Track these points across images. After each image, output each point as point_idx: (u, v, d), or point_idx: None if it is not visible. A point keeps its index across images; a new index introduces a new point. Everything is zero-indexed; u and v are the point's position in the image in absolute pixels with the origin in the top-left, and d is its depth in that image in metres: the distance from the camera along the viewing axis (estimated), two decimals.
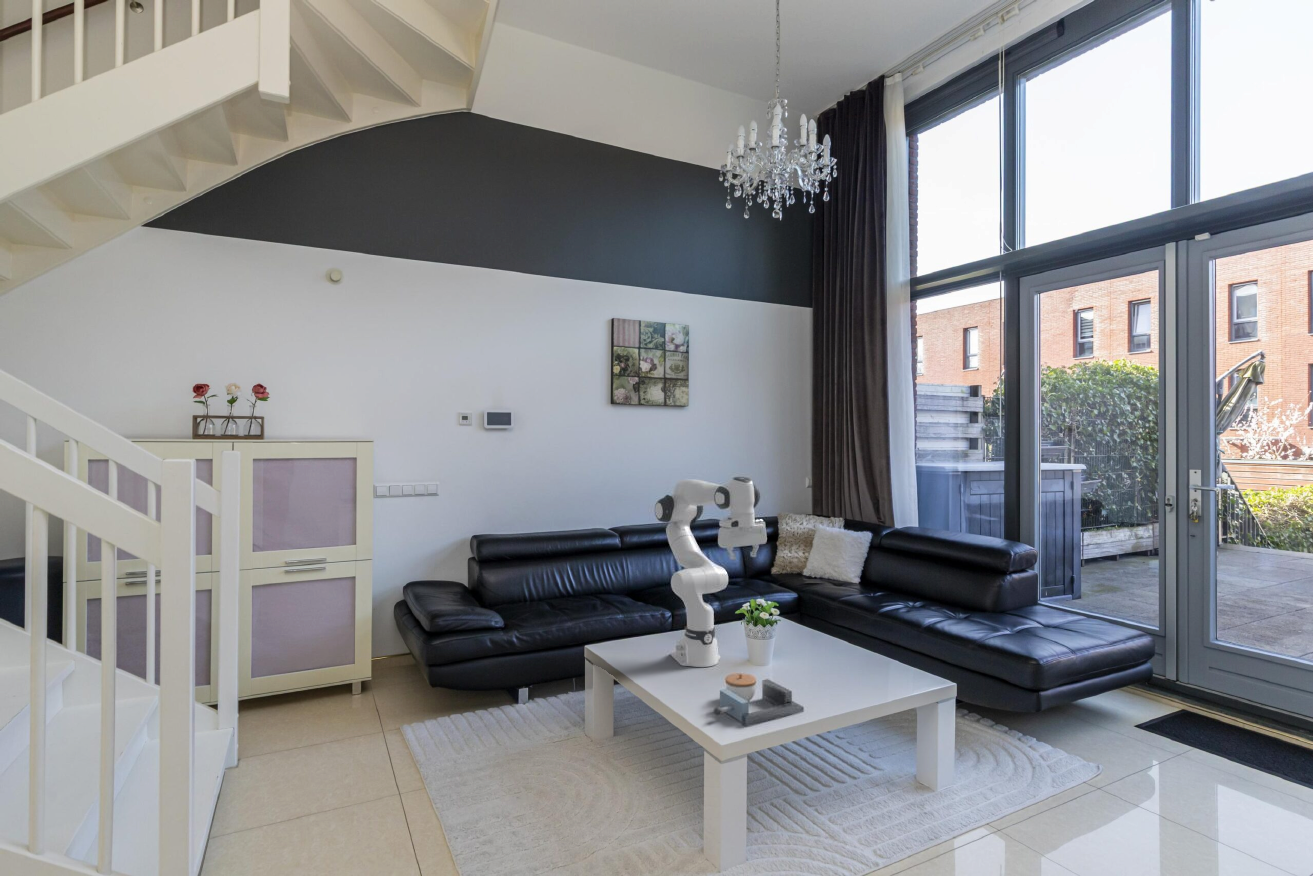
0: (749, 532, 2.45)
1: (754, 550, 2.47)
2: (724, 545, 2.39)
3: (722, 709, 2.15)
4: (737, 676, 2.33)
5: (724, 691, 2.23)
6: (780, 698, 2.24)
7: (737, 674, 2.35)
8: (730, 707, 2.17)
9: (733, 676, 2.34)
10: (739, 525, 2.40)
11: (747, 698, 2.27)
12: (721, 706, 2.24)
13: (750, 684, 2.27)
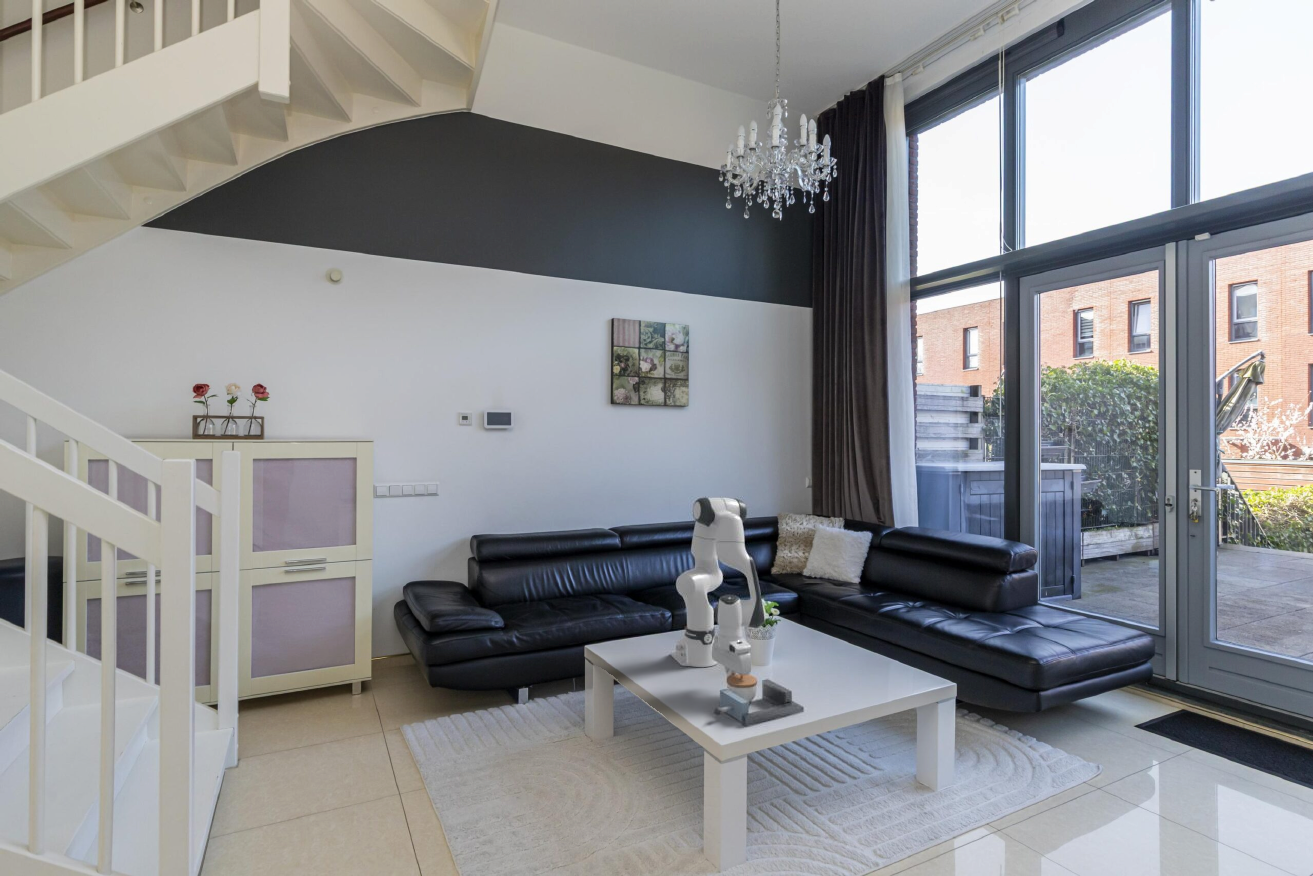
0: None
1: (729, 672, 2.38)
2: None
3: (722, 709, 2.15)
4: (738, 677, 2.33)
5: (724, 691, 2.23)
6: (780, 698, 2.24)
7: (738, 675, 2.35)
8: (730, 707, 2.17)
9: (734, 676, 2.33)
10: None
11: (748, 699, 2.27)
12: (721, 706, 2.24)
13: (751, 685, 2.27)
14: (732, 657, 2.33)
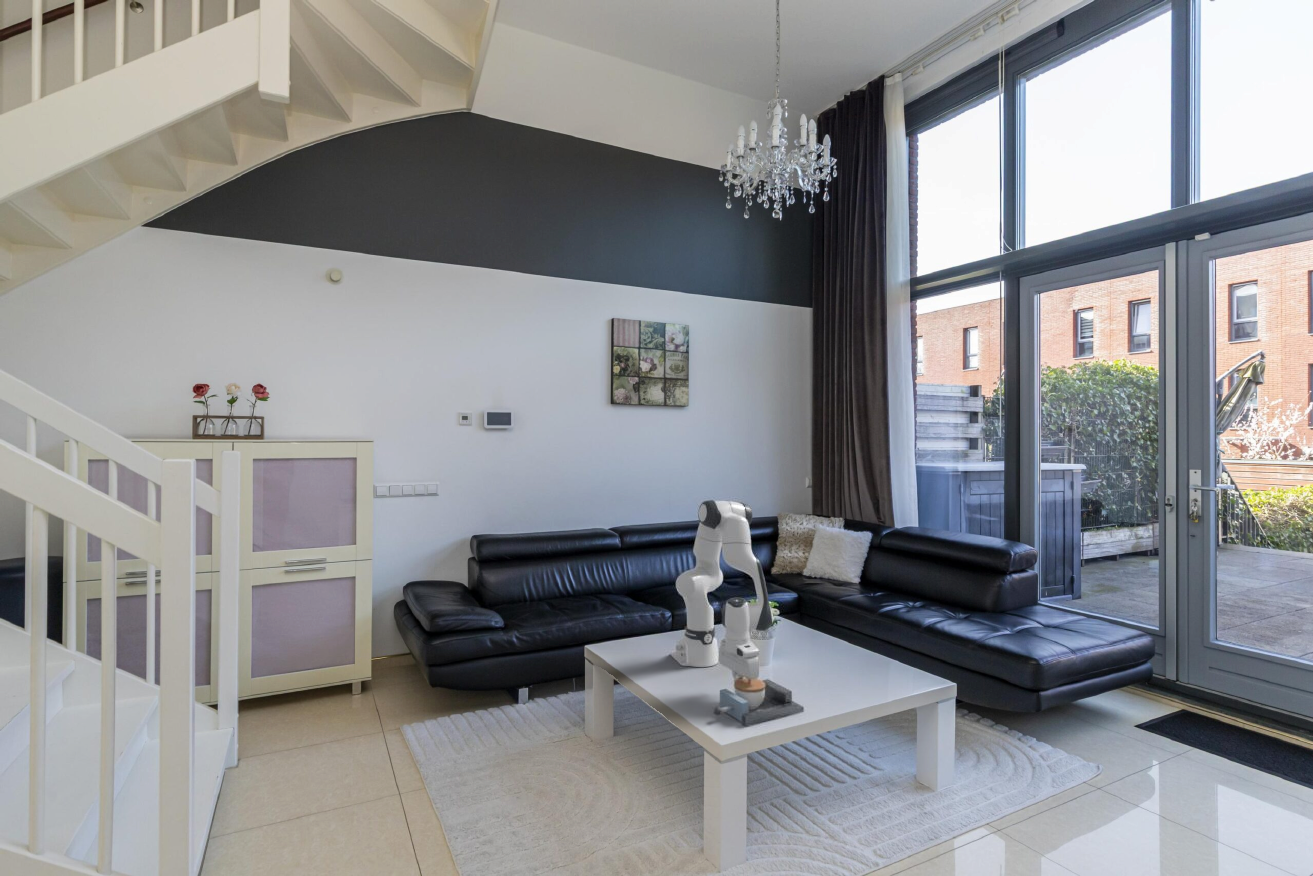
0: None
1: (737, 676, 2.34)
2: None
3: (722, 709, 2.15)
4: (746, 681, 2.29)
5: (724, 691, 2.23)
6: (780, 698, 2.24)
7: (746, 679, 2.31)
8: (730, 707, 2.17)
9: (742, 681, 2.29)
10: None
11: (756, 703, 2.23)
12: (721, 706, 2.24)
13: (759, 689, 2.22)
14: (740, 661, 2.29)
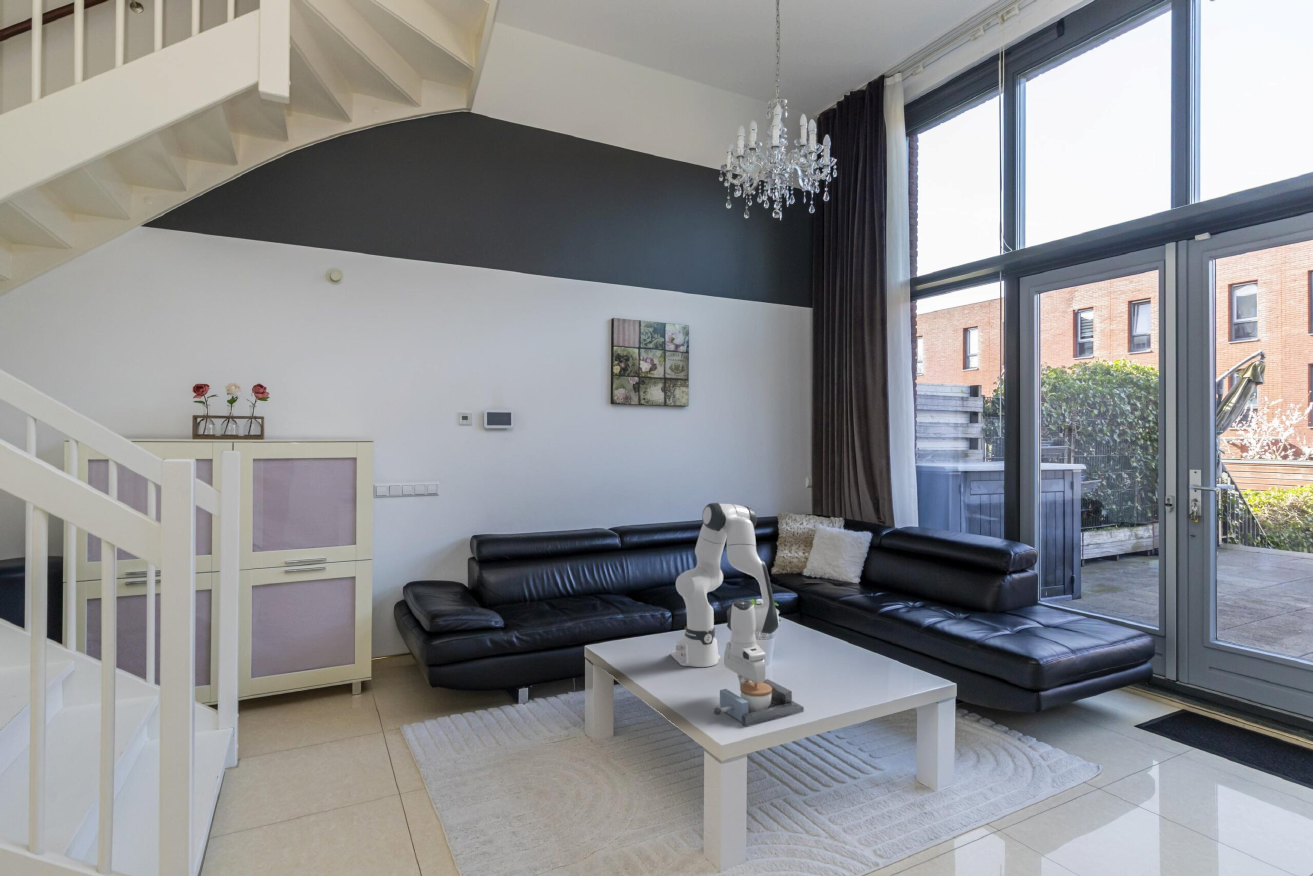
0: None
1: (742, 680, 2.31)
2: None
3: (722, 709, 2.15)
4: (752, 684, 2.25)
5: (724, 691, 2.23)
6: (780, 698, 2.24)
7: (752, 682, 2.27)
8: (730, 707, 2.17)
9: (748, 684, 2.26)
10: None
11: (763, 708, 2.19)
12: (721, 706, 2.24)
13: (766, 693, 2.19)
14: (746, 664, 2.26)
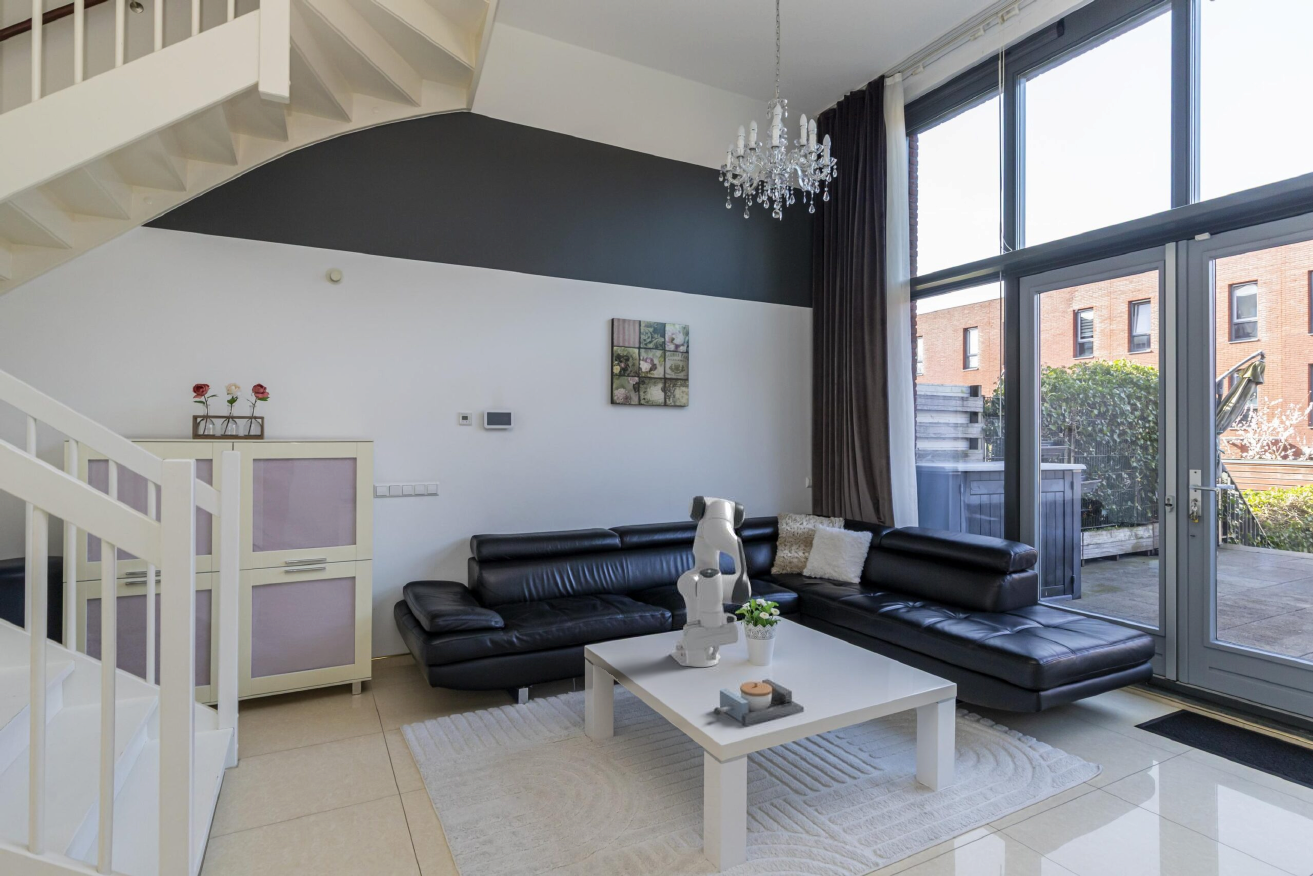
0: None
1: None
2: None
3: (722, 709, 2.15)
4: (752, 684, 2.25)
5: (724, 691, 2.23)
6: (780, 698, 2.24)
7: (752, 682, 2.27)
8: (730, 707, 2.17)
9: (748, 684, 2.26)
10: None
11: (763, 708, 2.19)
12: (721, 706, 2.24)
13: (766, 693, 2.19)
14: (721, 631, 2.20)
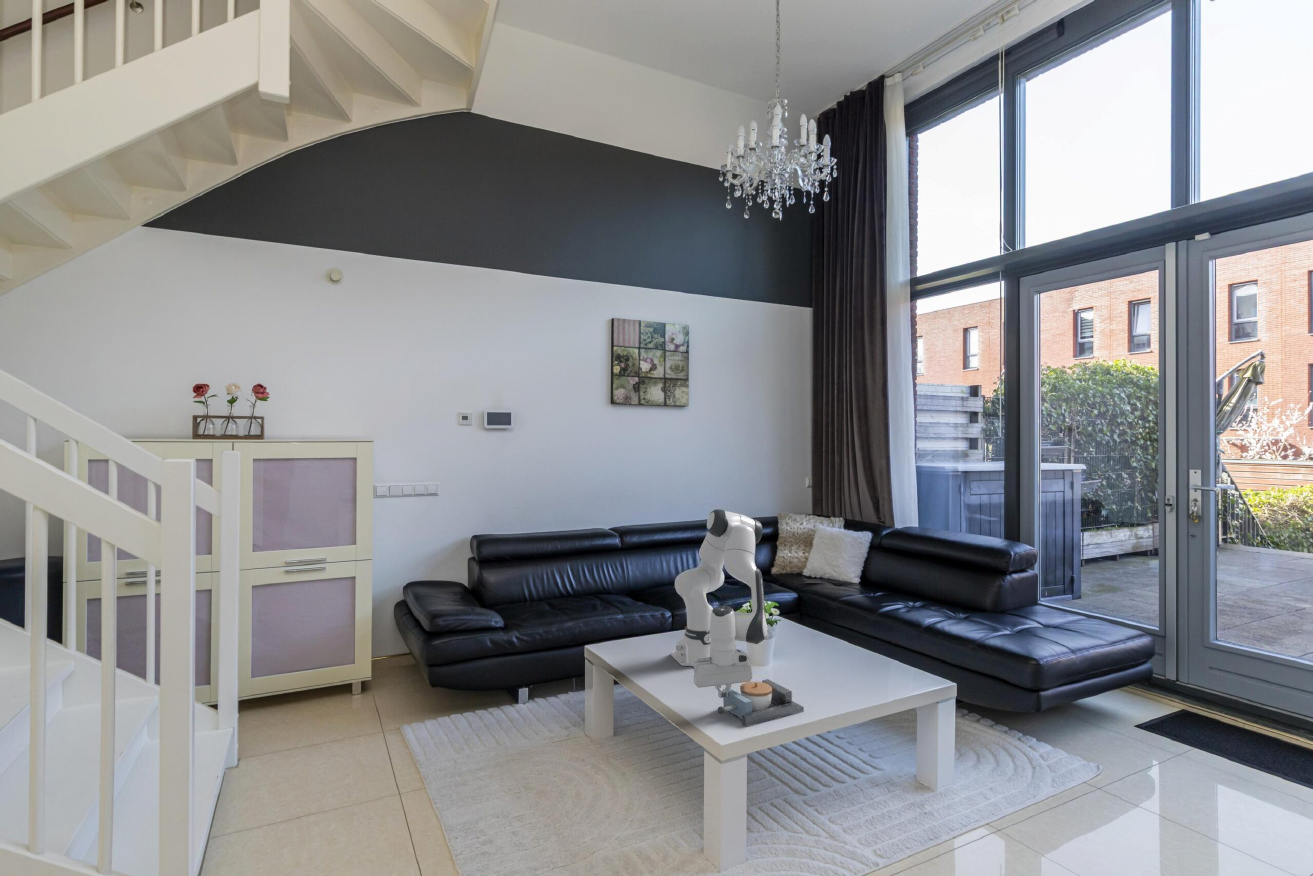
0: None
1: None
2: None
3: (726, 708, 2.16)
4: (752, 684, 2.25)
5: None
6: (780, 698, 2.24)
7: (752, 682, 2.27)
8: (733, 706, 2.18)
9: (748, 684, 2.26)
10: None
11: (763, 708, 2.19)
12: (724, 705, 2.24)
13: (766, 693, 2.19)
14: (734, 669, 2.22)
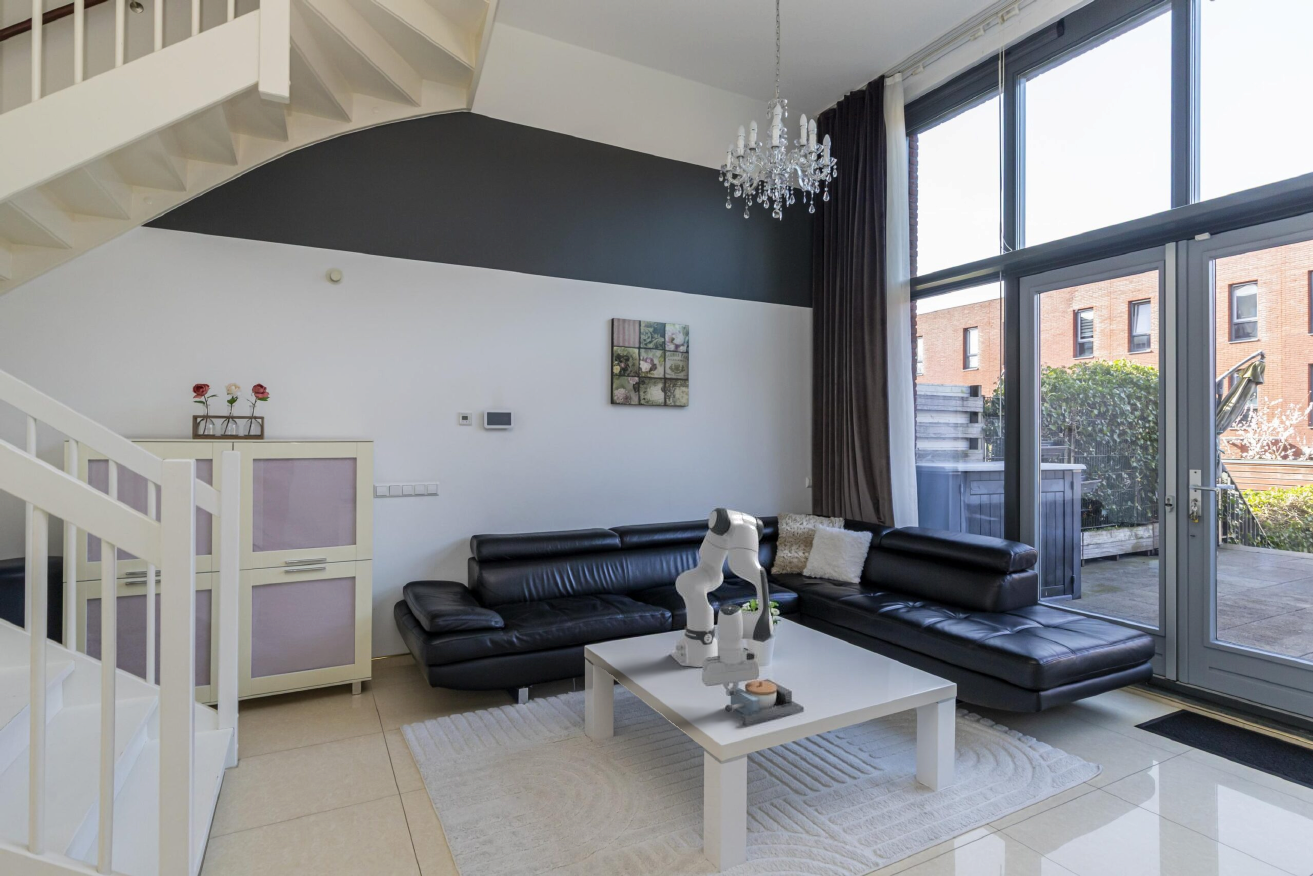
0: None
1: None
2: None
3: (733, 706, 2.17)
4: (757, 683, 2.26)
5: None
6: (780, 698, 2.24)
7: (757, 681, 2.28)
8: (741, 704, 2.19)
9: (753, 683, 2.26)
10: None
11: (767, 706, 2.20)
12: (732, 703, 2.26)
13: (770, 692, 2.20)
14: (741, 667, 2.23)
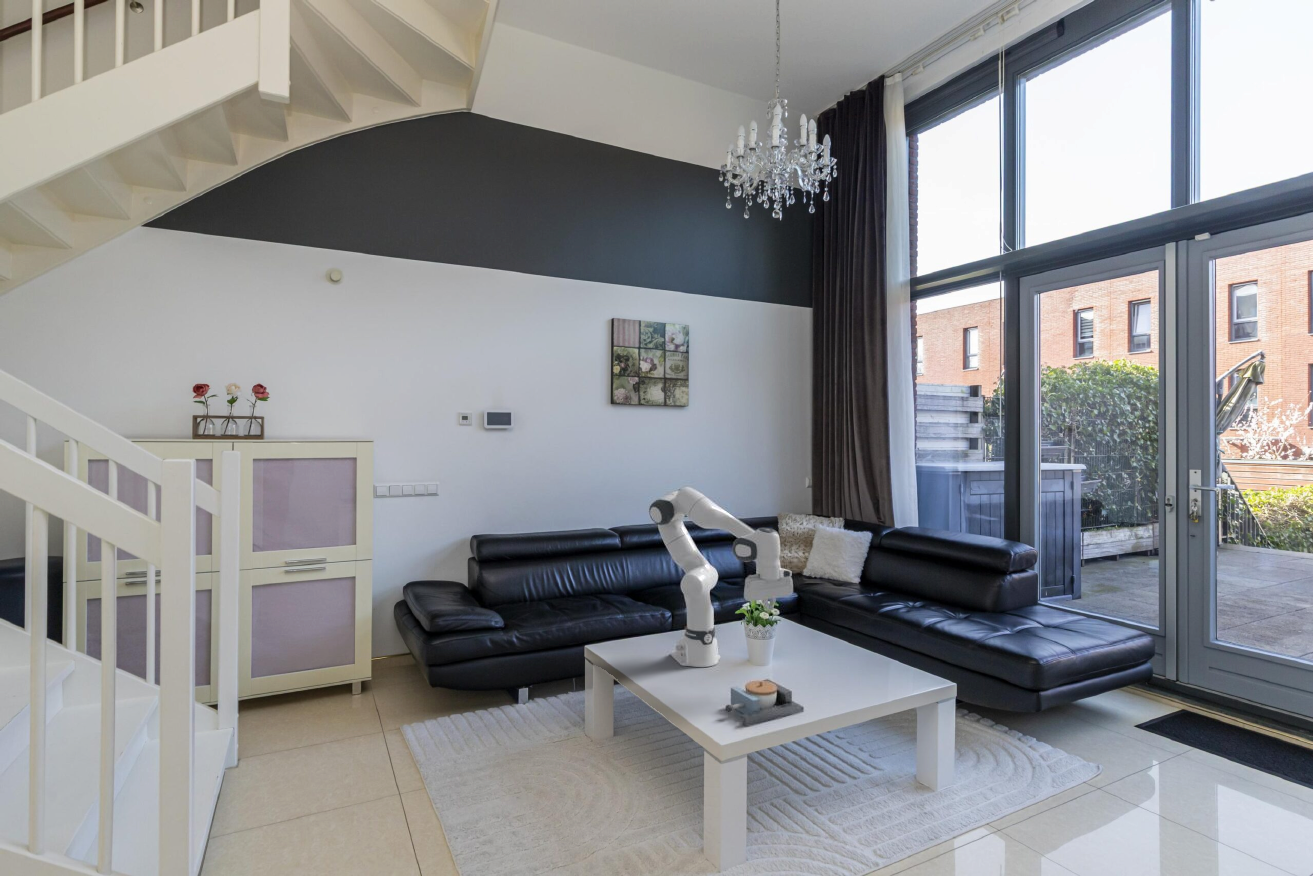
0: None
1: None
2: None
3: (733, 706, 2.18)
4: (757, 683, 2.26)
5: (735, 689, 2.25)
6: (780, 698, 2.24)
7: (758, 681, 2.28)
8: (741, 704, 2.19)
9: (753, 683, 2.27)
10: None
11: (767, 707, 2.20)
12: (732, 703, 2.26)
13: (771, 692, 2.20)
14: (778, 584, 2.42)
